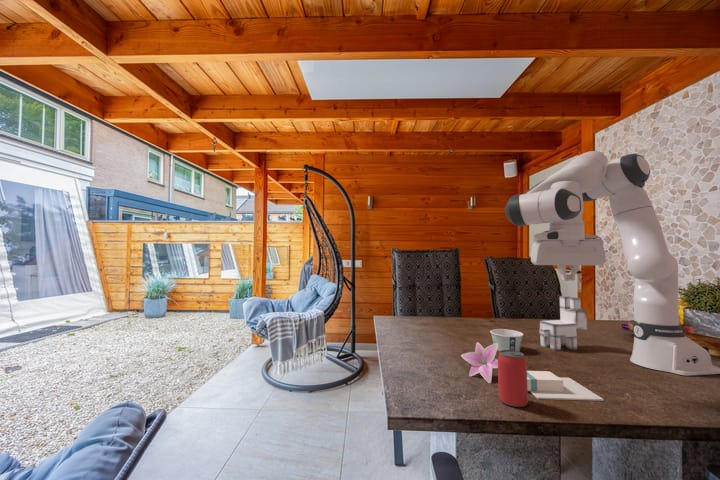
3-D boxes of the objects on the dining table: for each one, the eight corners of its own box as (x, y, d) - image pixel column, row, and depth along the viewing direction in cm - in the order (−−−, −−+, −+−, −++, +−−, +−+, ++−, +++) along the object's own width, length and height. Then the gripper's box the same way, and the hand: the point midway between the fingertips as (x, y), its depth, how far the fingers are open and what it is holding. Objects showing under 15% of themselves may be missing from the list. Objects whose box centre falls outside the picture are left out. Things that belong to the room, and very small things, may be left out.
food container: (486, 344, 128) (486, 328, 128) (516, 345, 126) (516, 329, 127) (496, 353, 116) (495, 335, 116) (529, 354, 115) (528, 336, 115)
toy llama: (535, 345, 126) (533, 296, 127) (571, 343, 129) (569, 295, 130) (549, 351, 118) (547, 299, 120) (587, 348, 122) (585, 297, 123)
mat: (569, 379, 91) (569, 377, 91) (603, 400, 77) (603, 399, 77) (513, 377, 92) (513, 376, 92) (537, 399, 78) (537, 397, 78)
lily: (459, 371, 100) (453, 349, 96) (488, 355, 102) (484, 332, 99) (484, 398, 89) (479, 374, 85) (516, 379, 91) (513, 354, 88)
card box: (549, 371, 88) (513, 370, 89) (563, 380, 81) (524, 379, 82) (549, 382, 88) (513, 381, 88) (563, 392, 81) (524, 390, 82)
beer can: (527, 410, 72) (525, 358, 73) (496, 403, 75) (495, 354, 76) (528, 399, 77) (527, 351, 78) (500, 393, 81) (499, 347, 82)
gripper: (595, 235, 96) (596, 280, 95) (527, 235, 97) (528, 279, 96) (610, 234, 90) (612, 281, 89) (538, 234, 91) (539, 280, 90)
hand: (568, 280), depth 93 cm, fingers closed
